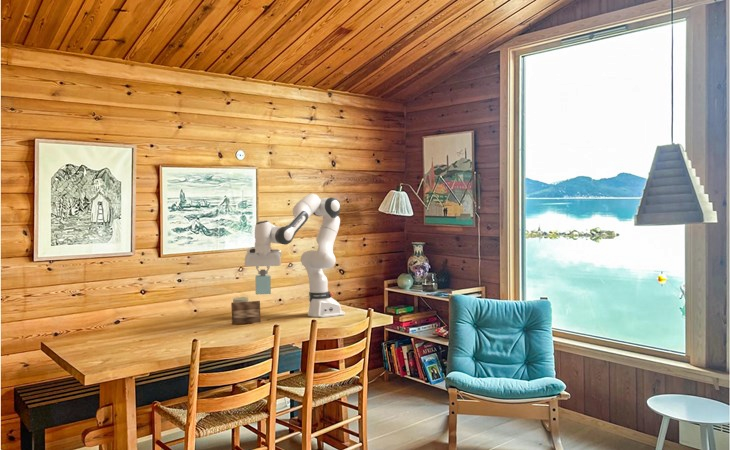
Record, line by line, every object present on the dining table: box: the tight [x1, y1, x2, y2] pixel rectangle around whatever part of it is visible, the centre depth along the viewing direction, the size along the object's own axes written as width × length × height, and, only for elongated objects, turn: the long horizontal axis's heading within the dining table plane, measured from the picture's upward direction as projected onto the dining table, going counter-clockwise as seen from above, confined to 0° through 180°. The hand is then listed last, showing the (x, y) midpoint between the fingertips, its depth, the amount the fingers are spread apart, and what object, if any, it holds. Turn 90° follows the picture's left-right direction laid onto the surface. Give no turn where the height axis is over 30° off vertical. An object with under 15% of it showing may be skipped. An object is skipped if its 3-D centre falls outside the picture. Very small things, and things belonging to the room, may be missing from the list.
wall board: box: [230, 300, 261, 325], centre depth 334 cm, size 16×6×12 cm, turn 105°
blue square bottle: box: [255, 269, 272, 295], centre depth 332 cm, size 8×9×14 cm
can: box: [232, 296, 249, 303], centre depth 352 cm, size 9×9×12 cm
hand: (262, 274), depth 330 cm, fingers closed on blue square bottle, 2 cm apart
